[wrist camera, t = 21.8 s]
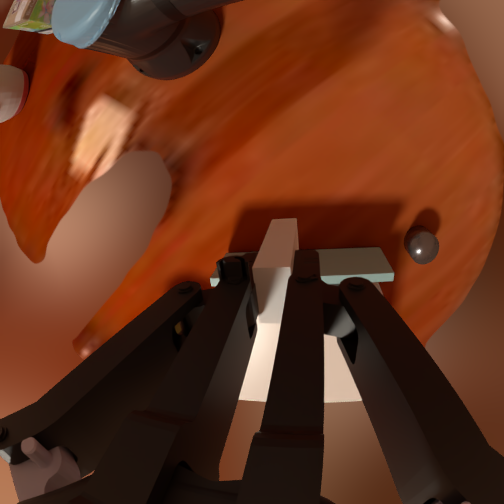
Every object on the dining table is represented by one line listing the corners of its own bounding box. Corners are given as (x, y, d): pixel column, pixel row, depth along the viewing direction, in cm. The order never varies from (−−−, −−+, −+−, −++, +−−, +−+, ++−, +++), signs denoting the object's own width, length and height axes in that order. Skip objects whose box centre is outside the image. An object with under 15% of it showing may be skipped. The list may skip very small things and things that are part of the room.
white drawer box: (233, 280, 48) (216, 314, 39) (375, 276, 42) (389, 311, 33) (248, 363, 55) (237, 399, 46) (363, 362, 50) (369, 399, 41)
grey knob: (405, 226, 38) (412, 233, 35) (432, 225, 37) (440, 232, 34) (402, 255, 40) (409, 265, 37) (428, 254, 39) (436, 263, 36)
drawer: (226, 252, 45) (209, 278, 37) (379, 247, 40) (394, 272, 32) (245, 360, 54) (236, 391, 46) (365, 359, 49) (370, 391, 41)
